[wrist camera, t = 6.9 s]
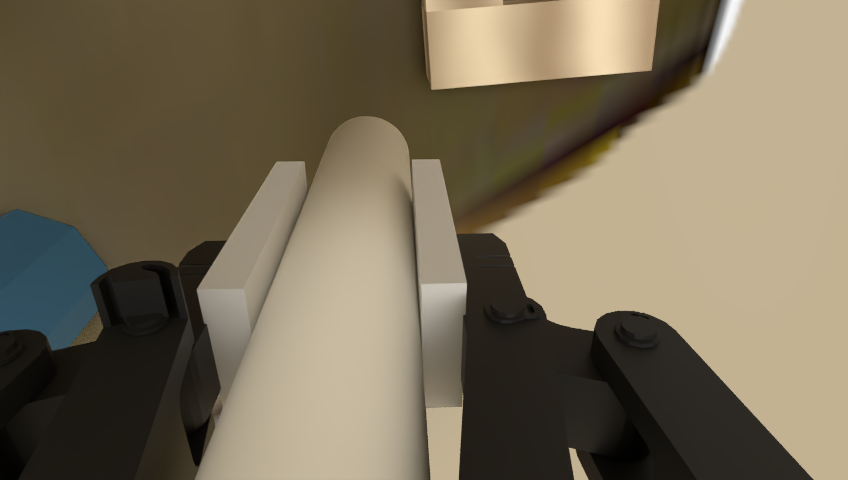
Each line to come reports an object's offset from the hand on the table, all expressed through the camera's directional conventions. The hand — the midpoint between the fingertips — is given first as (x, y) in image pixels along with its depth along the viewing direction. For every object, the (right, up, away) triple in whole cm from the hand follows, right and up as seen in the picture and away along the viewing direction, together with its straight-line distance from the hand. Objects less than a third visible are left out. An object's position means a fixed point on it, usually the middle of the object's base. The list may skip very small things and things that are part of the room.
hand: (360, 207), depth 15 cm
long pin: (0, +2, +4) cm, 5 cm away
